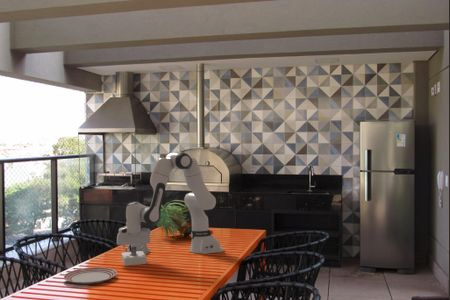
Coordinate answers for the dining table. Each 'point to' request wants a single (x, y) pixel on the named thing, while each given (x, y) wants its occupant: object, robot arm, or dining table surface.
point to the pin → (133, 251)
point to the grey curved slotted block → (138, 246)
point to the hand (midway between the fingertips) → (133, 251)
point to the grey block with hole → (134, 258)
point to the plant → (174, 220)
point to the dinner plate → (90, 275)
